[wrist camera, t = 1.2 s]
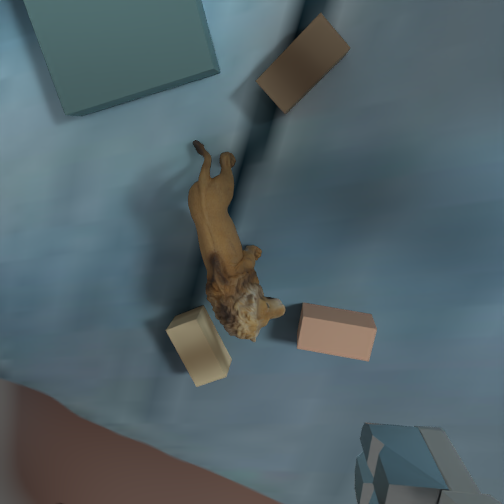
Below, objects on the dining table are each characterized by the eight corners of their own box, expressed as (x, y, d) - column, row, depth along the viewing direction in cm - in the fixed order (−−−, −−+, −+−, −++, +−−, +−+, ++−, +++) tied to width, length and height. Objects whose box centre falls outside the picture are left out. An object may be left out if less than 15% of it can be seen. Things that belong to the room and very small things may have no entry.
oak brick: (175, 315, 39) (165, 330, 36) (204, 304, 38) (196, 318, 35) (204, 368, 40) (196, 386, 37) (231, 358, 39) (226, 376, 36)
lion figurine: (293, 288, 36) (290, 338, 28) (238, 307, 37) (219, 361, 29) (224, 127, 33) (196, 128, 24) (166, 154, 34) (120, 164, 26)
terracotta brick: (370, 313, 36) (376, 329, 34) (363, 343, 37) (368, 361, 34) (303, 301, 37) (303, 316, 34) (297, 331, 38) (296, 348, 35)
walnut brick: (318, 23, 30) (320, 12, 27) (345, 55, 31) (350, 47, 28) (259, 85, 32) (255, 81, 29) (285, 114, 32) (284, 113, 30)
